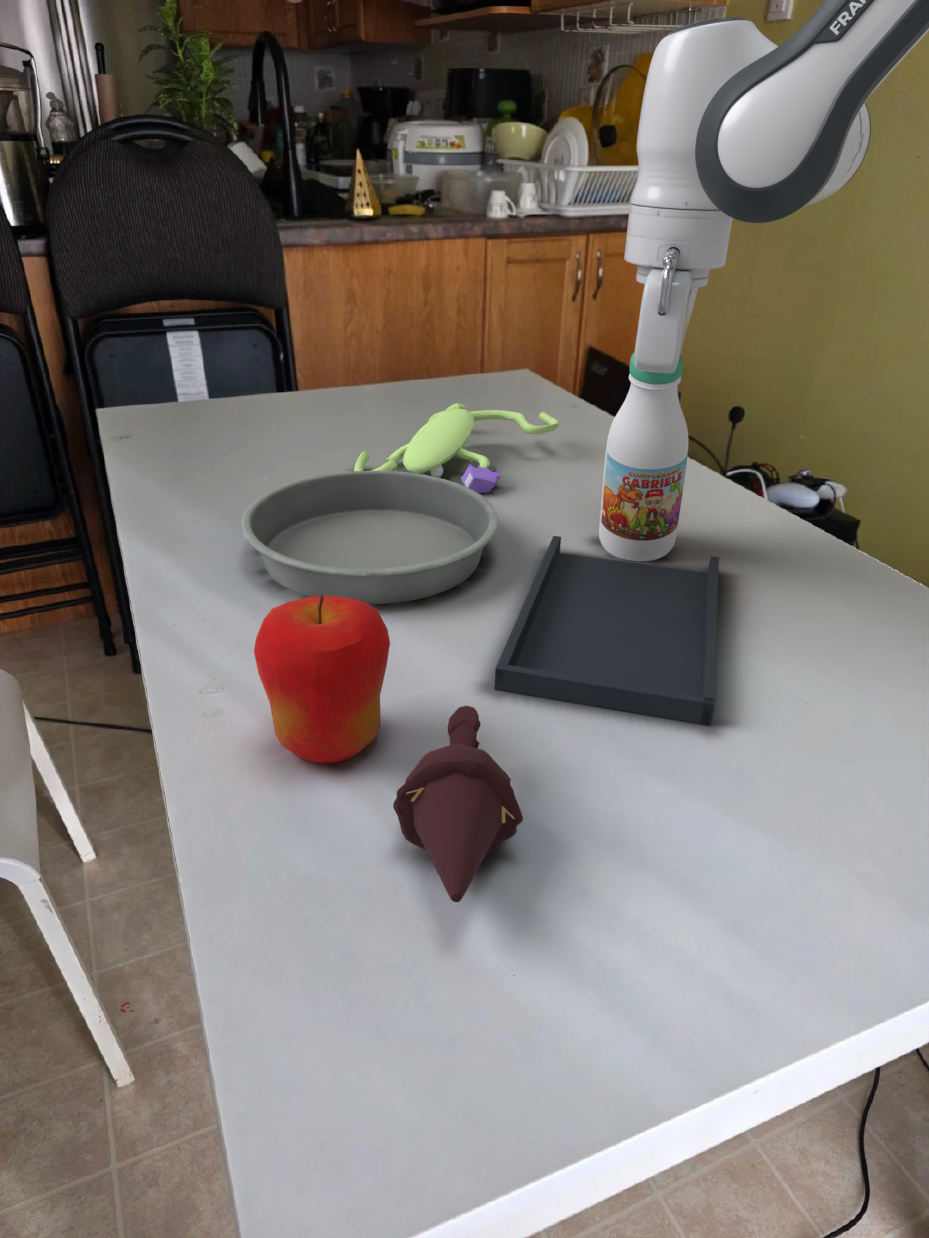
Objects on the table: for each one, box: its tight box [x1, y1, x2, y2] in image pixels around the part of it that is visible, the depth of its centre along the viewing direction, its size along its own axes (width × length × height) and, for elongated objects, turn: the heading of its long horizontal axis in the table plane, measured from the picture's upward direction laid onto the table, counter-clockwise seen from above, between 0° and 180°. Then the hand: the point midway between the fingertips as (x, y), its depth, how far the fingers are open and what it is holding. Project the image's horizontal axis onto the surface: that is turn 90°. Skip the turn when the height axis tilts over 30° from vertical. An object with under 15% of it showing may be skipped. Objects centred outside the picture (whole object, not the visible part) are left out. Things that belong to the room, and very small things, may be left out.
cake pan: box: [240, 469, 500, 605], centre depth 86 cm, size 25×25×4 cm
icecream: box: [392, 705, 524, 903], centre depth 51 cm, size 7×7×15 cm
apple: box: [253, 593, 391, 765], centre depth 58 cm, size 9×8×12 cm
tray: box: [494, 535, 720, 727], centre depth 76 cm, size 26×16×2 cm, turn 165°
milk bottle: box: [598, 351, 689, 562], centre depth 84 cm, size 8×8×20 cm
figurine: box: [353, 402, 560, 494], centre depth 110 cm, size 18×27×6 cm
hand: (655, 398), depth 84 cm, fingers closed
